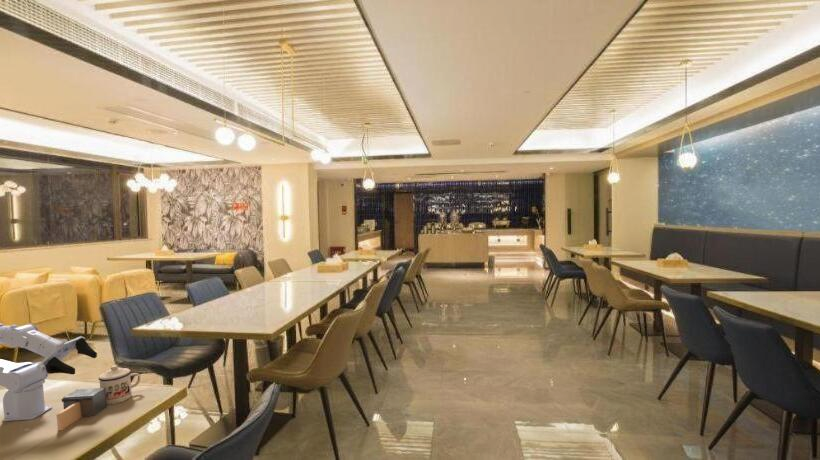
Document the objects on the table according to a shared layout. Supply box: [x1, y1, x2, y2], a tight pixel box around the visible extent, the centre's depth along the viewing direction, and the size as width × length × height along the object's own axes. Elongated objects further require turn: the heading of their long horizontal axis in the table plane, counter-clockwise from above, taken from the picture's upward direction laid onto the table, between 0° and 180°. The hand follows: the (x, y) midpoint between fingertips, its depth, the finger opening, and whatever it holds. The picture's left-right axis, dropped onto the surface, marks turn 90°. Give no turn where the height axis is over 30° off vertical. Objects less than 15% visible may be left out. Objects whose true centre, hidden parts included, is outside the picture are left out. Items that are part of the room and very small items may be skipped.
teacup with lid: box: [98, 364, 141, 406], centre depth 145 cm, size 12×9×12 cm
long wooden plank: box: [56, 401, 83, 432], centre depth 130 cm, size 1×12×5 cm, turn 4°
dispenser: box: [61, 387, 108, 418], centre depth 135 cm, size 9×7×7 cm
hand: (85, 363), depth 133 cm, fingers open, 7 cm apart
